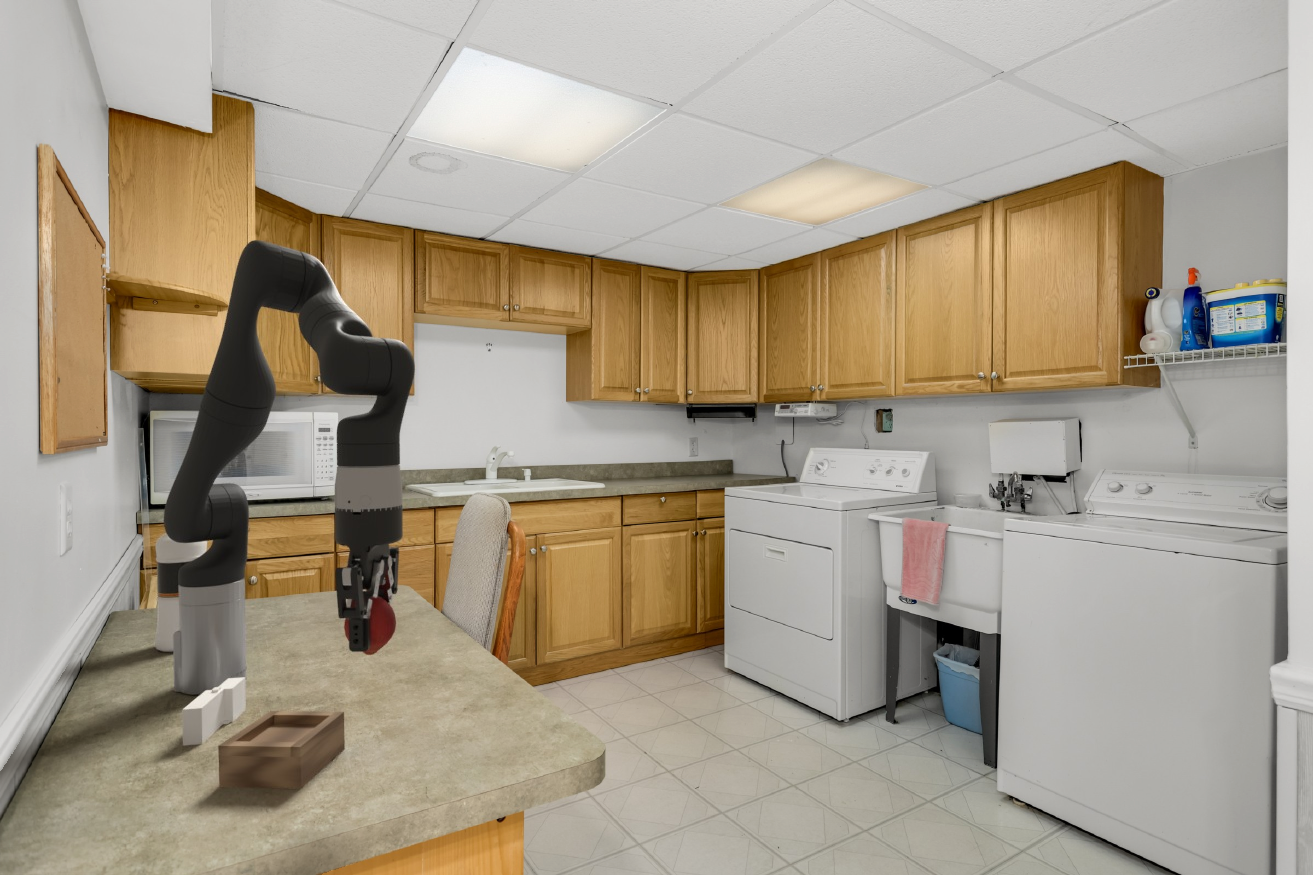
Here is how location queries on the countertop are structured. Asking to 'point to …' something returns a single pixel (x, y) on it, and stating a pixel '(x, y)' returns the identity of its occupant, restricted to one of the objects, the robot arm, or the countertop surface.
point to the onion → (378, 625)
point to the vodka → (171, 585)
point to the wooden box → (281, 749)
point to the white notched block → (213, 710)
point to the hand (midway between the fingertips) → (370, 641)
